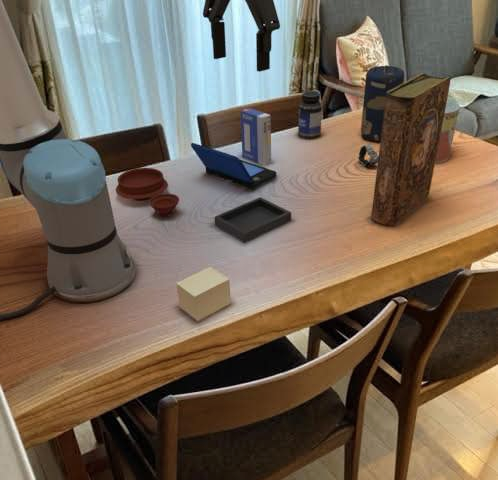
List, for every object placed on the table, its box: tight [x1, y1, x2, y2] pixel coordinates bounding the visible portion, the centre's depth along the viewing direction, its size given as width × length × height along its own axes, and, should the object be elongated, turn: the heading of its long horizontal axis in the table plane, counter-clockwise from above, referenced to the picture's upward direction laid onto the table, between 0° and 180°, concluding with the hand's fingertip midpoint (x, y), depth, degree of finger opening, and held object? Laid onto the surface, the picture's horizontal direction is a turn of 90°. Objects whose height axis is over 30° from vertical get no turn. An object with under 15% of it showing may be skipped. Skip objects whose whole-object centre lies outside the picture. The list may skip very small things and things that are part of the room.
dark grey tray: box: [213, 196, 292, 243], centre depth 110 cm, size 13×10×2 cm
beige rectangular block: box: [176, 266, 232, 322], centre depth 88 cm, size 7×5×5 cm
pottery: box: [115, 167, 180, 218], centre depth 118 cm, size 12×20×4 cm, turn 35°
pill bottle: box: [297, 90, 323, 140], centre depth 144 cm, size 6×6×11 cm
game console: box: [190, 142, 277, 190], centre depth 125 cm, size 16×13×9 cm
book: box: [370, 72, 452, 228], centre depth 105 cm, size 16×6×25 cm, turn 141°
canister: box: [360, 64, 405, 142], centre depth 139 cm, size 10×10×18 cm
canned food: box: [435, 99, 461, 164], centre depth 131 cm, size 11×11×12 cm
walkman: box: [239, 107, 272, 166], centre depth 132 cm, size 8×3×12 cm, turn 43°
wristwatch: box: [357, 143, 379, 168], centre depth 130 cm, size 3×5×5 cm
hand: (240, 64), depth 108 cm, fingers open, 13 cm apart
